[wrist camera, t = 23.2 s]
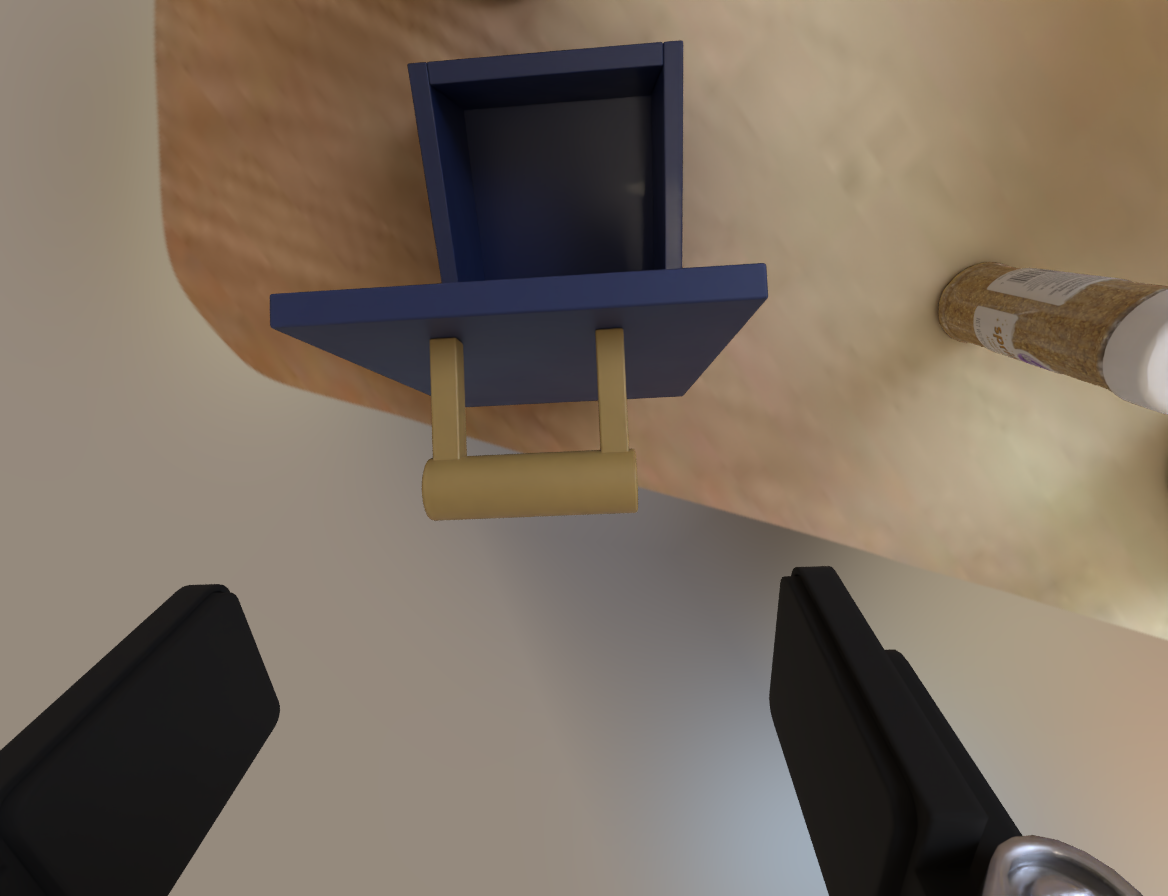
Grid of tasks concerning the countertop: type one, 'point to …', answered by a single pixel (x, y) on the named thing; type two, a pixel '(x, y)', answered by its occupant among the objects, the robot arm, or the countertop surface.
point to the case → (553, 161)
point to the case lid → (533, 367)
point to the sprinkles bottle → (1067, 325)
